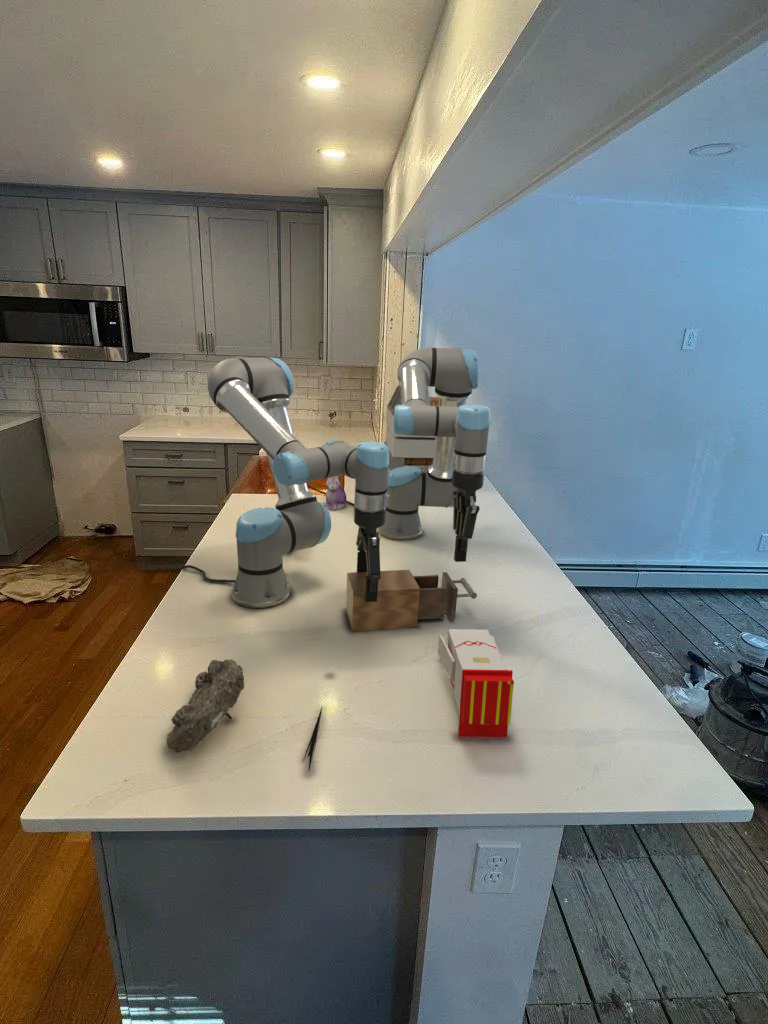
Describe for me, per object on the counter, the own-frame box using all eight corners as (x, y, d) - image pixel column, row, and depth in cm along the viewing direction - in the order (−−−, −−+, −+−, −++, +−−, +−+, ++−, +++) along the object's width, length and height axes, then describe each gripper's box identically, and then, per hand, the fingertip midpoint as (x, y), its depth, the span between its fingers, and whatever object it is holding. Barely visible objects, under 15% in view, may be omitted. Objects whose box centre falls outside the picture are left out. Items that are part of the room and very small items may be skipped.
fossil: (192, 660, 117) (244, 628, 112) (224, 691, 120) (276, 661, 115) (142, 746, 98) (202, 712, 93) (182, 779, 101) (242, 748, 96)
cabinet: (407, 606, 152) (409, 569, 148) (417, 627, 142) (419, 588, 138) (346, 610, 148) (347, 572, 145) (352, 631, 139) (353, 592, 135)
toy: (488, 613, 130) (523, 677, 101) (484, 667, 133) (517, 744, 104) (435, 612, 130) (455, 676, 101) (432, 666, 133) (451, 743, 103)
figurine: (329, 511, 218) (329, 474, 213) (319, 503, 226) (319, 467, 221) (351, 508, 222) (352, 471, 217) (341, 500, 230) (342, 465, 225)
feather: (331, 679, 122) (336, 673, 122) (307, 777, 96) (313, 769, 95) (324, 675, 122) (329, 669, 121) (298, 772, 95) (304, 764, 95)
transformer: (382, 463, 289) (386, 382, 275) (445, 464, 293) (451, 384, 279) (390, 482, 257) (394, 392, 243) (460, 483, 261) (468, 394, 247)
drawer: (463, 600, 154) (466, 571, 151) (475, 618, 145) (478, 587, 142) (388, 605, 150) (390, 574, 147) (396, 623, 141) (398, 592, 138)
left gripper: (397, 527, 123) (391, 612, 131) (376, 490, 146) (372, 565, 154) (363, 528, 122) (359, 614, 129) (347, 491, 145) (344, 566, 152)
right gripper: (493, 478, 131) (482, 570, 139) (473, 463, 143) (465, 549, 151) (462, 478, 129) (453, 572, 137) (445, 463, 141) (438, 550, 149)
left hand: (366, 587), depth 142 cm, fingers open, 13 cm apart
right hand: (459, 560), depth 144 cm, fingers closed
